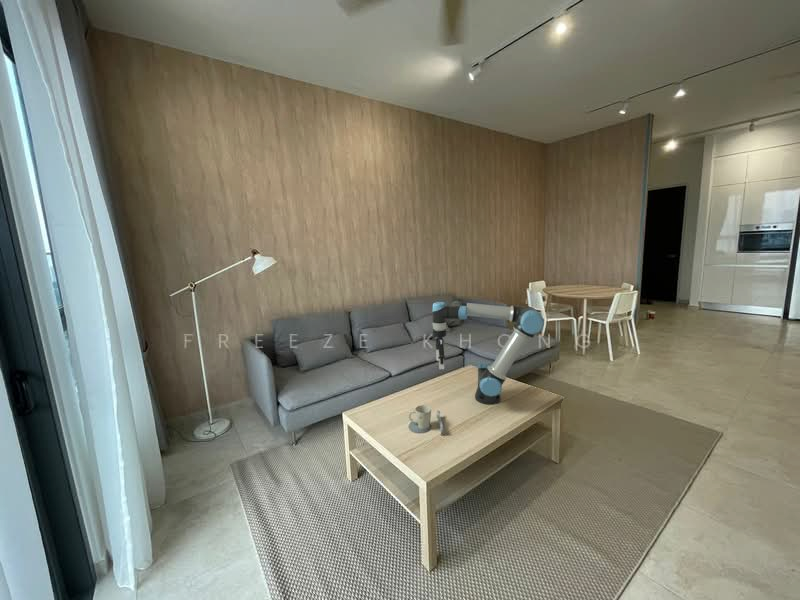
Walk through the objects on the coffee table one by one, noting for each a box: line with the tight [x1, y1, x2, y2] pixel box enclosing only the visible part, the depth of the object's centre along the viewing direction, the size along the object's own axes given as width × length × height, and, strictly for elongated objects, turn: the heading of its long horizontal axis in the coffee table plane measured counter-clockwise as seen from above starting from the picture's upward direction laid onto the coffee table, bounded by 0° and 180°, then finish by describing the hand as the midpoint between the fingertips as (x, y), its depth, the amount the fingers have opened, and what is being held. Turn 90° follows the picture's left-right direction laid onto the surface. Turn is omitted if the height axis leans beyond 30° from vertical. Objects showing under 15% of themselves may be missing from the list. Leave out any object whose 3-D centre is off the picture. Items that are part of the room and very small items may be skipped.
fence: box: [436, 410, 445, 437], centre depth 168 cm, size 2×18×4 cm, turn 0°
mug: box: [407, 404, 432, 429], centre depth 168 cm, size 8×13×10 cm, turn 78°
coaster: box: [408, 419, 432, 434], centre depth 169 cm, size 12×12×1 cm
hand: (440, 364), depth 184 cm, fingers open, 13 cm apart
